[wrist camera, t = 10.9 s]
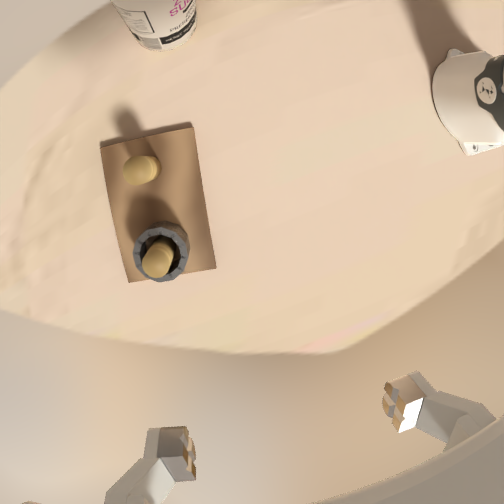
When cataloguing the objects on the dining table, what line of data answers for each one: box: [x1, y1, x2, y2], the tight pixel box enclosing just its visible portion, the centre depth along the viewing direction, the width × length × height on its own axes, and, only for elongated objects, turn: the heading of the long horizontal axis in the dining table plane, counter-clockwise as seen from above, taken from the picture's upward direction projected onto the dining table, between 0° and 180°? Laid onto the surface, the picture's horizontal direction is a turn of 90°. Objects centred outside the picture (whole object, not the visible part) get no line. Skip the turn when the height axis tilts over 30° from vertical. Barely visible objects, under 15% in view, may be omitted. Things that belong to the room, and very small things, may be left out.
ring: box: [132, 220, 190, 282], centre depth 37 cm, size 6×6×4 cm
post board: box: [100, 127, 216, 283], centre depth 34 cm, size 12×18×8 cm, turn 8°
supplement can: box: [111, 0, 197, 52], centre depth 24 cm, size 8×8×15 cm
